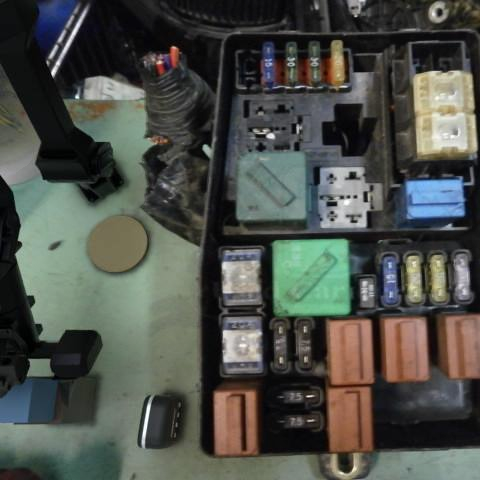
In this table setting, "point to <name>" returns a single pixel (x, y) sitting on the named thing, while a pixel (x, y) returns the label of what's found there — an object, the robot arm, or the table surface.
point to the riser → (72, 403)
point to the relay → (29, 402)
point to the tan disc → (117, 244)
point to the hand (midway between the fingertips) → (31, 404)
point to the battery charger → (159, 421)
